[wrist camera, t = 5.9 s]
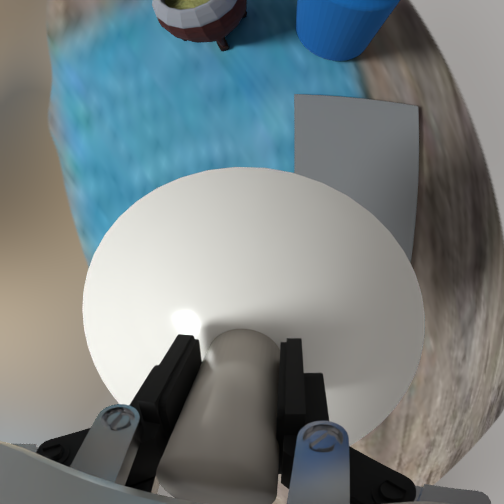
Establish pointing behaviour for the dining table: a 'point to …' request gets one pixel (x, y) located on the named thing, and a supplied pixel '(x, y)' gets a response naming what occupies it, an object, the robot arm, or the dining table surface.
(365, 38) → the beverage can
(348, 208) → the lid
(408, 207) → the mat
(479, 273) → the dining table surface
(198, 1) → the mate gourd
